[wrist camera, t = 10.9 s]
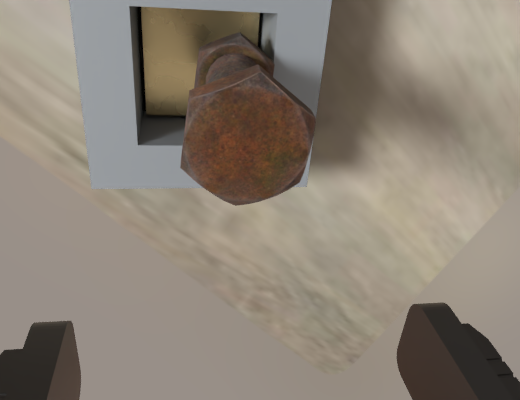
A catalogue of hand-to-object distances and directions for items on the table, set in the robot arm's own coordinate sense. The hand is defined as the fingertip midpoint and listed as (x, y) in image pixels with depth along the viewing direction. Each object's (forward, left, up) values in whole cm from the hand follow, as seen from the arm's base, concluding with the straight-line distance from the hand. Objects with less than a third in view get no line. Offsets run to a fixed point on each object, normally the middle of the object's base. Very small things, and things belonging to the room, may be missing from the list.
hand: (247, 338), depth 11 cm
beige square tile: (0, 0, -26) cm, 26 cm away
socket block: (0, 0, -26) cm, 26 cm away
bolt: (-2, 0, -25) cm, 25 cm away
